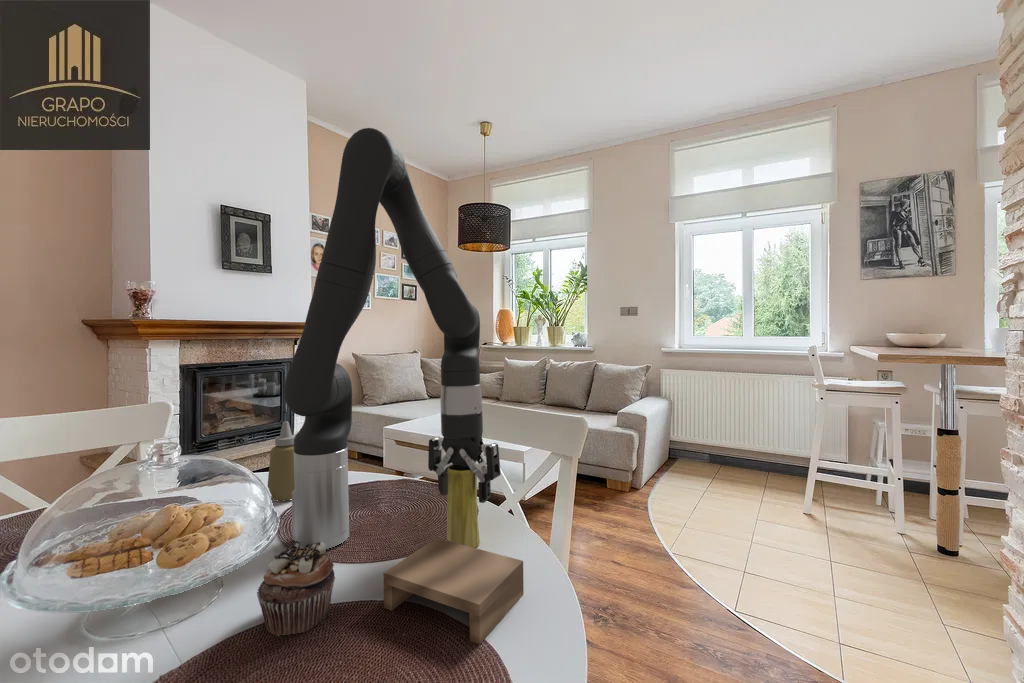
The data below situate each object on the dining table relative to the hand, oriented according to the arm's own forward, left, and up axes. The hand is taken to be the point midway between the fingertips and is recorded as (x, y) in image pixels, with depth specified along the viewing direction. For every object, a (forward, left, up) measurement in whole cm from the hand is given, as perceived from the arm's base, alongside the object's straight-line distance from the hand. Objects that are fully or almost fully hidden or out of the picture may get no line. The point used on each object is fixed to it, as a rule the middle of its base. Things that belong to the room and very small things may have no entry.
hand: (464, 497), depth 82 cm
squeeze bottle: (-50, 0, -9) cm, 51 cm away
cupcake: (-8, -28, -9) cm, 31 cm away
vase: (0, 0, -9) cm, 9 cm away
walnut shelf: (+9, -15, -9) cm, 19 cm away
